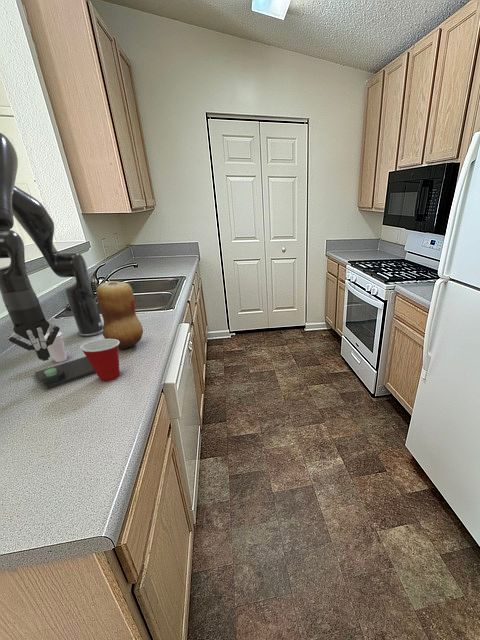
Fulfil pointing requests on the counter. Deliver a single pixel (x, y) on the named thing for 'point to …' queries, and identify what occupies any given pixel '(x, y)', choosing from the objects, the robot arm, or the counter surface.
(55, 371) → the button
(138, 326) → the butternut squash
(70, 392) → the counter surface
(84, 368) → the scale
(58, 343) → the smoothie
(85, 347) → the plastic cup
